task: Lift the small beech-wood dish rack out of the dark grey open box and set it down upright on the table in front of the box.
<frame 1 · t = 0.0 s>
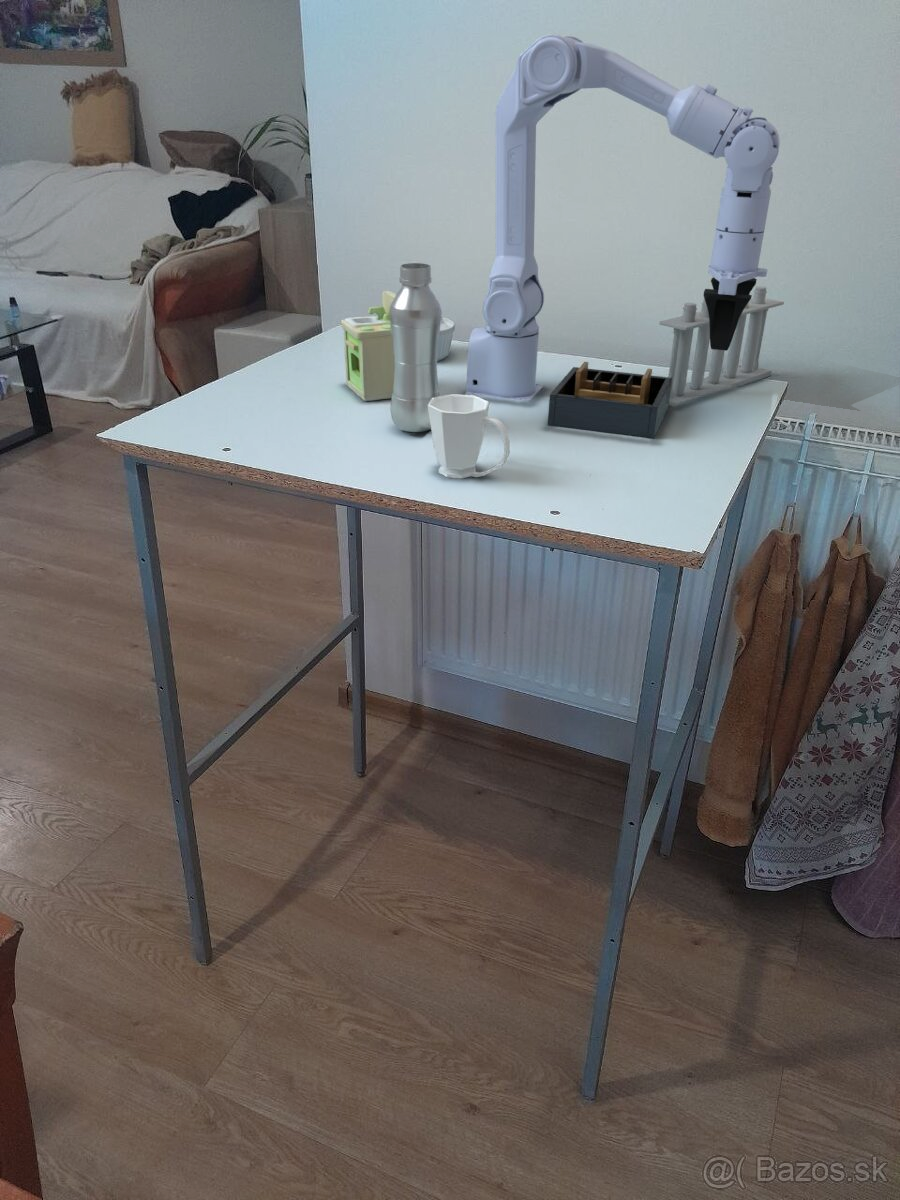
hand: (722, 342, 121), 10 cm above the table, tool pointing down, fingers open, 7 cm apart
test tube rack: (712, 389, 138), on the table
cup: (468, 475, 107), on the table
ramekin: (419, 356, 151), on the table
dark grey open box: (609, 419, 125), on the table
silver bottle: (415, 430, 120), on the table
dish rack: (609, 415, 124), point 1 cm above the table, touching dark grey open box
toy sink: (376, 392, 134), on the table
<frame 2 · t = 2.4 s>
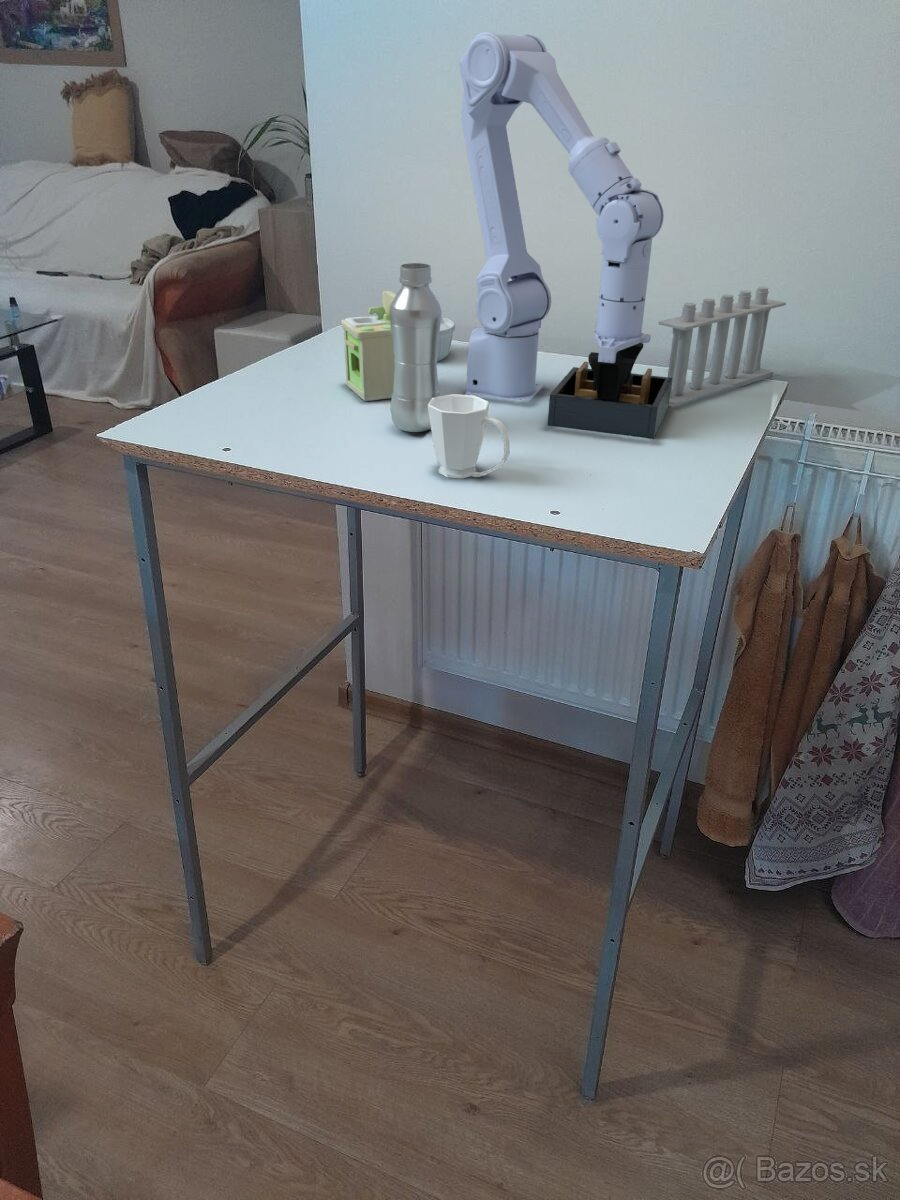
hand: (611, 403, 124), 2 cm above the table, tool pointing down, fingers closed on dish rack, 5 cm apart
dish rack: (609, 415, 124), point 1 cm above the table, touching gripper, dark grey open box
everything else where it was.
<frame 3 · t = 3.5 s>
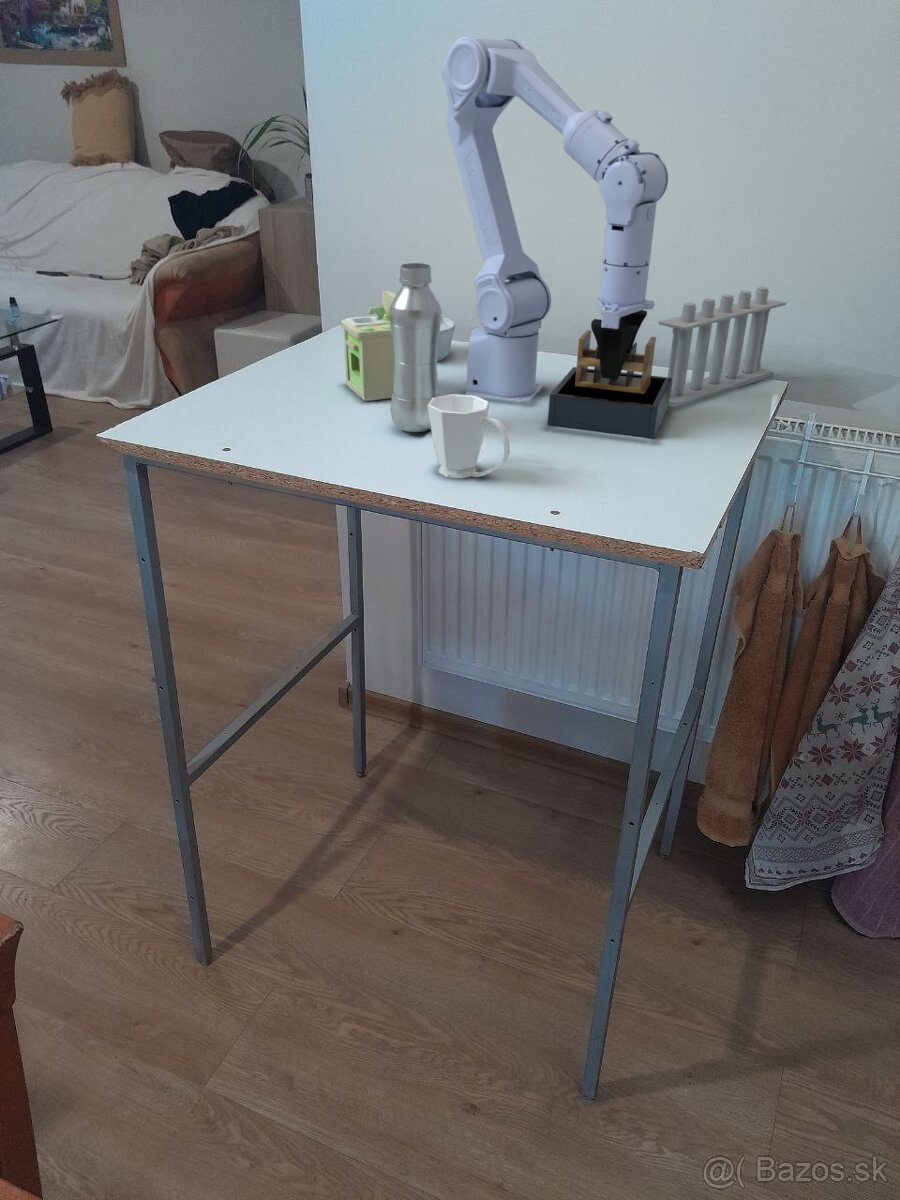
hand: (613, 372, 122), 6 cm above the table, tool pointing down, fingers closed on dish rack, 5 cm apart
dish rack: (612, 384, 122), point 5 cm above the table, touching gripper
everything else where it was.
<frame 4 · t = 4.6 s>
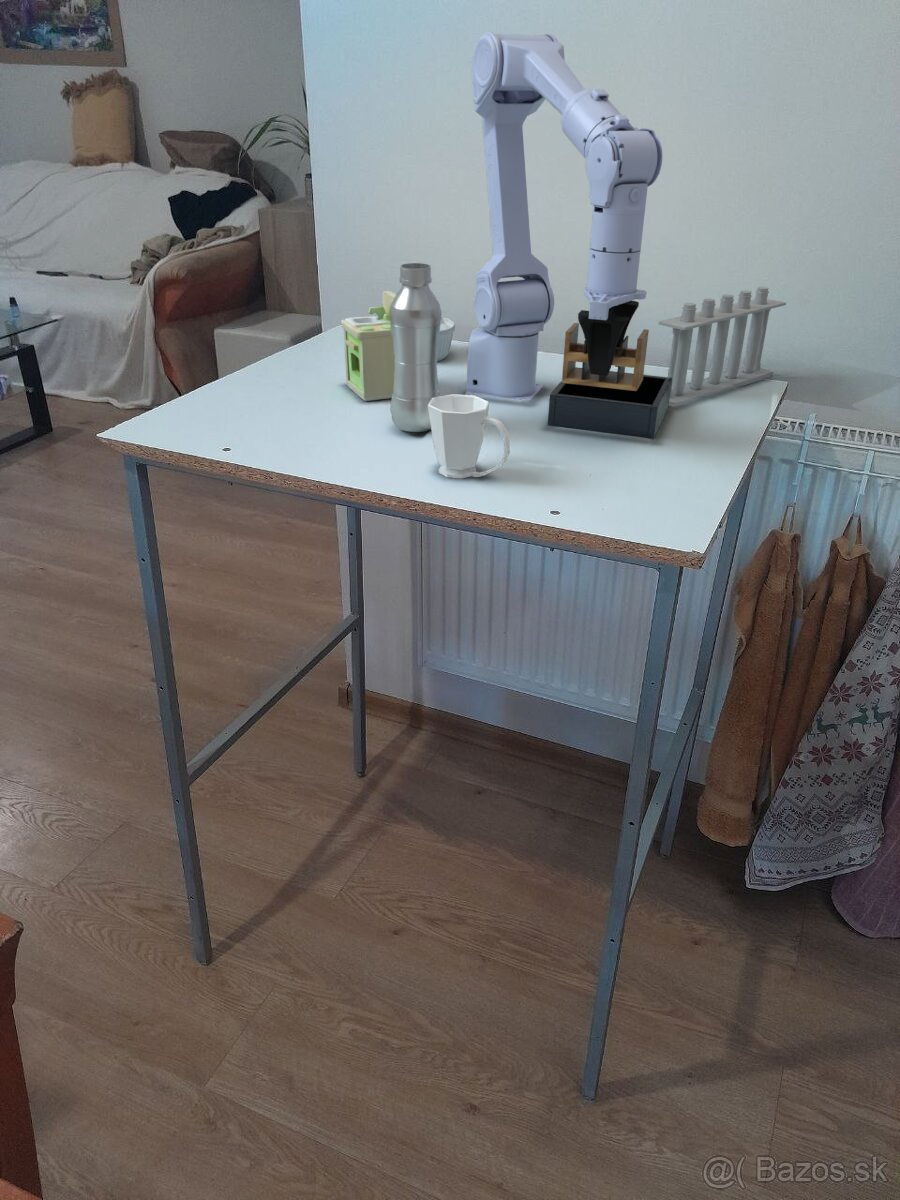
hand: (603, 368, 113), 9 cm above the table, tool pointing down, fingers closed on dish rack, 5 cm apart
dish rack: (602, 381, 113), point 8 cm above the table, touching gripper
everything else where it was.
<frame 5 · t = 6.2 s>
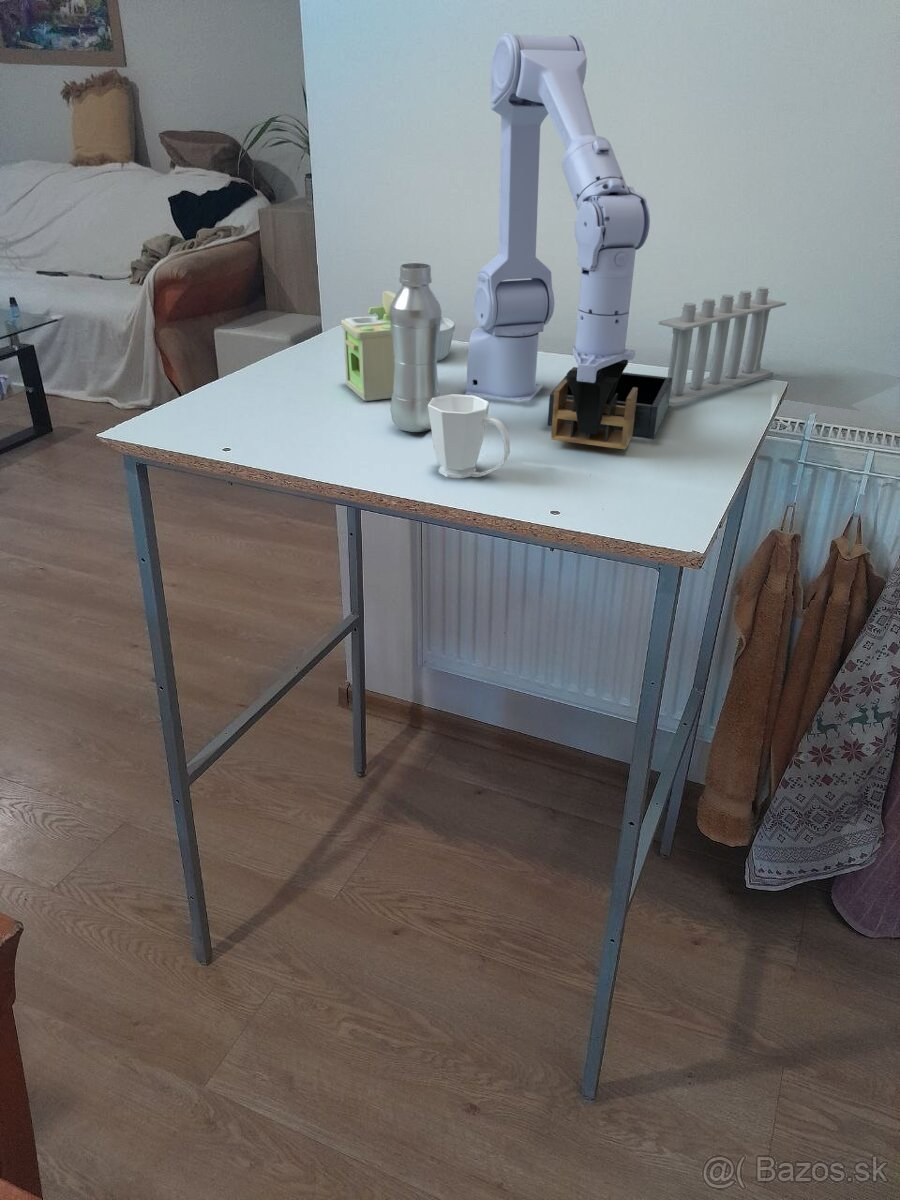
hand: (592, 425, 113), 3 cm above the table, tool pointing down, fingers closed on dish rack, 5 cm apart
dish rack: (591, 438, 114), point 2 cm above the table, touching gripper
everything else where it was.
when the fingers open (2 cm above the table, at t = 7.2 s): dish rack stays where it is, on the table.
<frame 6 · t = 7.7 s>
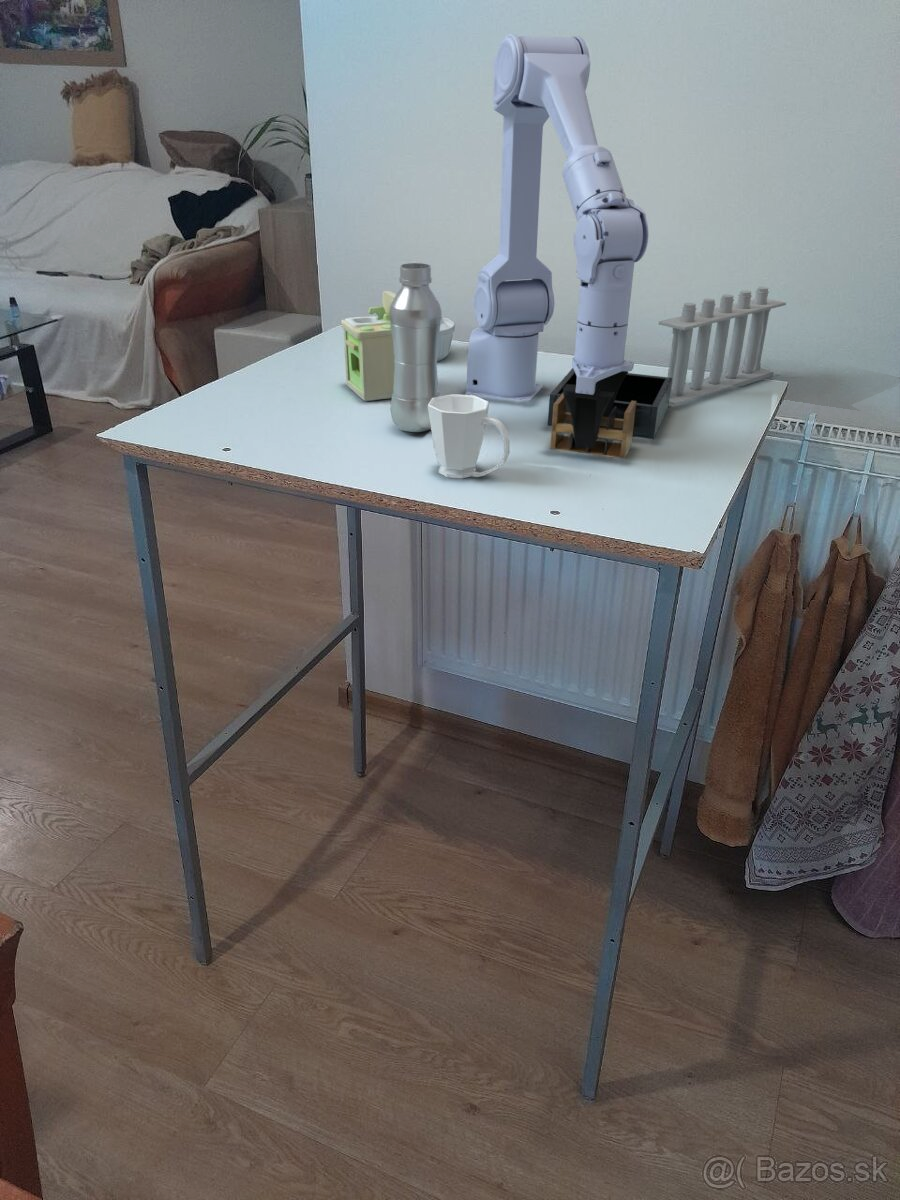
hand: (591, 436, 113), 2 cm above the table, tool pointing down, fingers open, 7 cm apart
dish rack: (590, 451, 114), on the table
everything else where it was.
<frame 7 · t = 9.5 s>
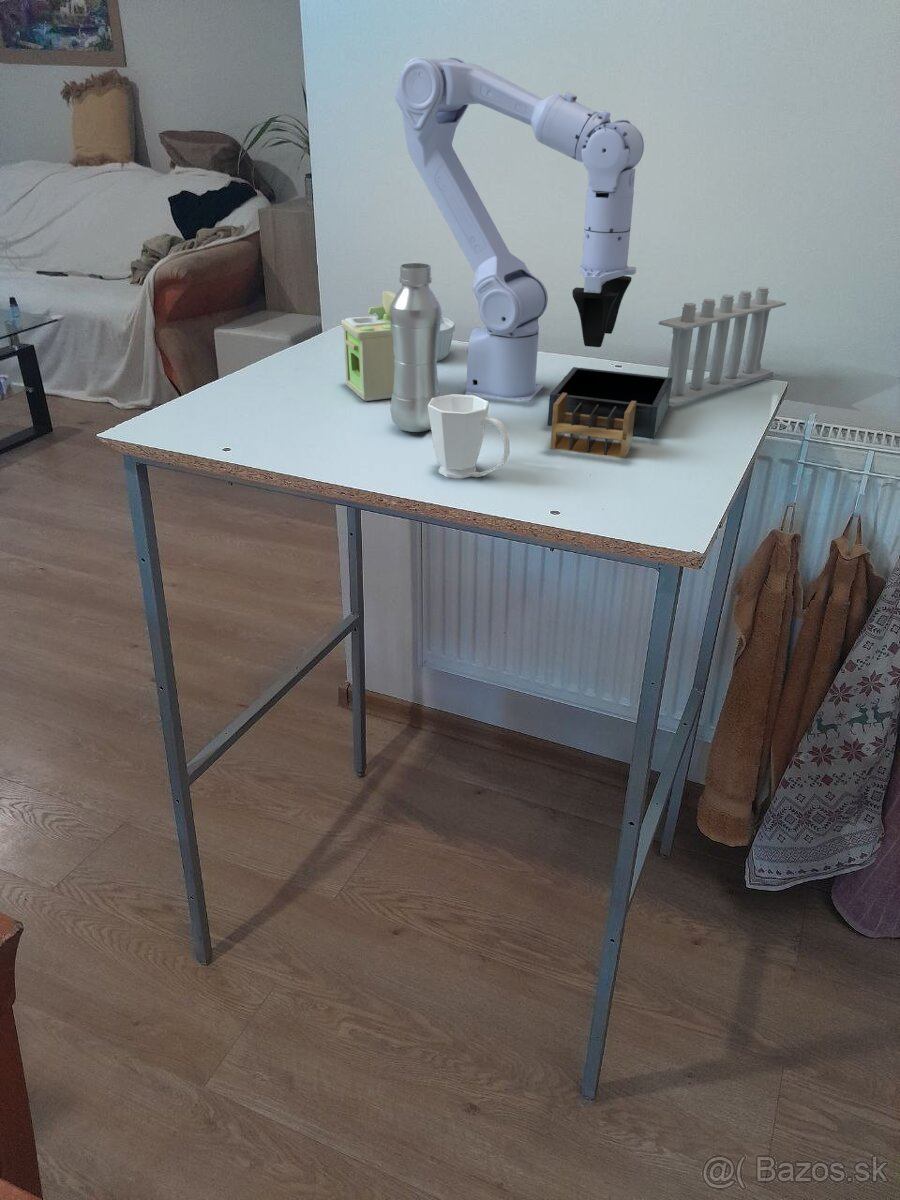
hand: (598, 339, 124), 9 cm above the table, tool pointing down, fingers open, 7 cm apart
nothing on the table moved.
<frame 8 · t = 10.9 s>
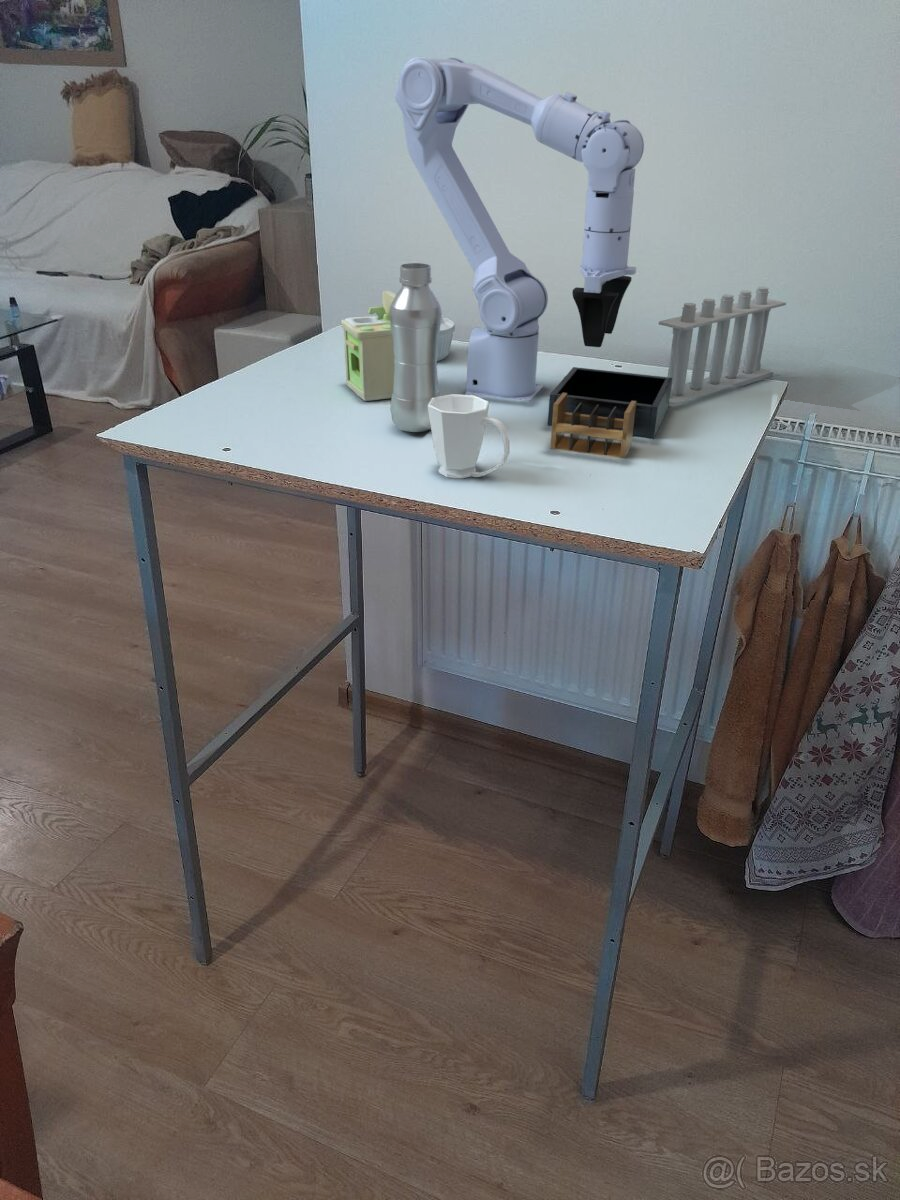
hand: (598, 339, 124), 9 cm above the table, tool pointing down, fingers open, 7 cm apart
nothing on the table moved.
at the end: dish rack inside the target area (0.1 cm from its centre), on the table; dish rack tilted 0°; dish rack touching table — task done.
